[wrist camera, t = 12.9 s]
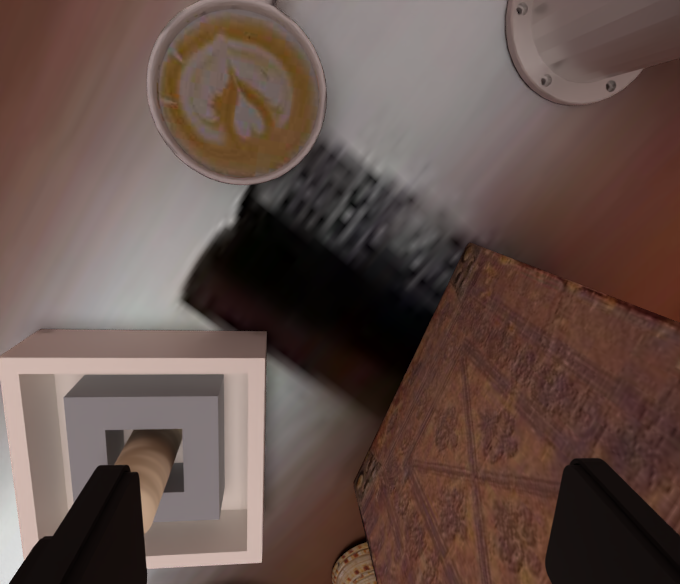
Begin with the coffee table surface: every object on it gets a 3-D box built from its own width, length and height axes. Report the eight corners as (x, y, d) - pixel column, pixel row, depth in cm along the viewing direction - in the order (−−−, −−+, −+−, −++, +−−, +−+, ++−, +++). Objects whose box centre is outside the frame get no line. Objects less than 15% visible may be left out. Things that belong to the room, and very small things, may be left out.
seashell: (437, 558, 46) (408, 646, 45) (411, 536, 52) (384, 613, 50) (364, 532, 45) (331, 622, 43) (345, 512, 50) (315, 591, 48)
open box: (266, 331, 41) (264, 358, 35) (263, 512, 45) (261, 562, 39) (40, 329, 38) (-3, 357, 32) (60, 520, 43) (25, 575, 37)
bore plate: (223, 374, 40) (218, 396, 36) (224, 487, 43) (219, 519, 39) (84, 374, 38) (63, 397, 35) (94, 492, 41) (75, 525, 37)
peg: (182, 412, 40) (152, 488, 31) (183, 453, 41) (154, 540, 32) (132, 413, 40) (86, 490, 30) (135, 455, 41) (91, 543, 31)
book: (469, 239, 41) (929, 407, 12) (557, 277, 43) (1135, 502, 14) (352, 484, 45) (480, 1030, 17) (436, 509, 47) (681, 1037, 19)
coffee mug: (286, 200, 38) (289, 211, 28) (163, 149, 36) (121, 142, 26) (352, 33, 36) (379, -18, 26) (224, -32, 34) (202, -113, 24)
